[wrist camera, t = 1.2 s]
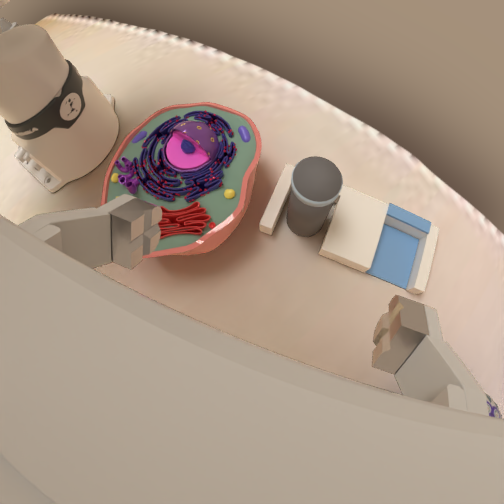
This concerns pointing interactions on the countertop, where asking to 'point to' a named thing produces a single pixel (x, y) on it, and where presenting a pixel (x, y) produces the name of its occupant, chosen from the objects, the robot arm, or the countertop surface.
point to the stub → (312, 194)
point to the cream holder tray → (369, 235)
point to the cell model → (189, 173)
